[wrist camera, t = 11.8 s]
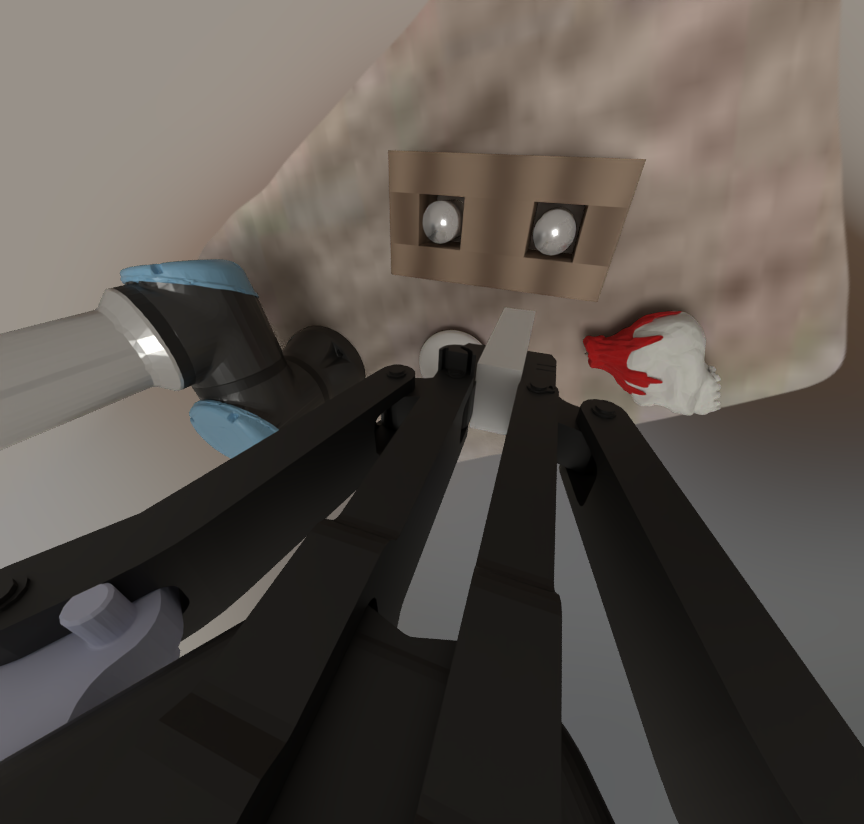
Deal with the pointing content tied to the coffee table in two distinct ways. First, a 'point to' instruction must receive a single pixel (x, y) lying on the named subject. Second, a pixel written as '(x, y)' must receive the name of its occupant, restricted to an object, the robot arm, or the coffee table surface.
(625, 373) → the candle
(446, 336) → the flower in vase
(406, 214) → the walnut block
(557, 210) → the steel peg
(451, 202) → the steel peg
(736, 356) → the coffee table surface
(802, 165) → the coffee table surface
